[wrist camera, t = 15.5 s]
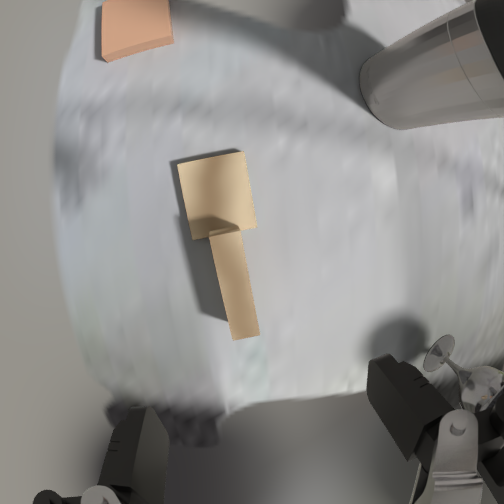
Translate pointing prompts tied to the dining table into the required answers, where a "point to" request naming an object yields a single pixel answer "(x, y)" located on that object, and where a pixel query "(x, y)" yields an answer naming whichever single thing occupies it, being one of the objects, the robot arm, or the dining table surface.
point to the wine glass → (468, 377)
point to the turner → (224, 229)
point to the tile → (134, 27)
